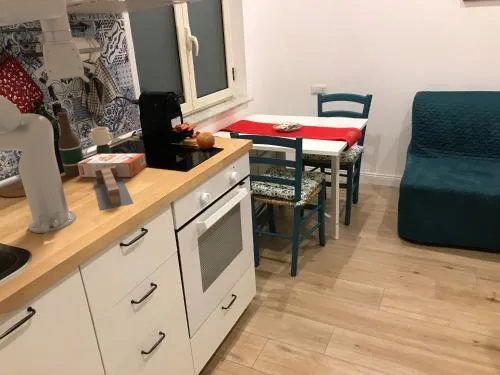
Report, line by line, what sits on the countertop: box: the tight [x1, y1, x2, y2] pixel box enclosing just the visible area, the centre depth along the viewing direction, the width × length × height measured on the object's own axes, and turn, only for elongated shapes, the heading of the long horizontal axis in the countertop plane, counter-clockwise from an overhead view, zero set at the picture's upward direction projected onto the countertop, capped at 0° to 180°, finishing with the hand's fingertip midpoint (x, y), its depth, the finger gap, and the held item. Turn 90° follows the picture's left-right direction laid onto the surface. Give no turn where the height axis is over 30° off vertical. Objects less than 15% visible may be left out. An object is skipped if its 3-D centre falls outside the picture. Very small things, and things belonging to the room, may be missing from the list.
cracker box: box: [78, 153, 147, 178], centre depth 157 cm, size 14×6×21 cm
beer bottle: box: [56, 111, 85, 177], centre depth 156 cm, size 8×8×24 cm
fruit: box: [195, 131, 216, 150], centre depth 182 cm, size 8×8×8 cm
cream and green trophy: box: [87, 126, 114, 154], centre depth 175 cm, size 11×7×13 cm, turn 81°
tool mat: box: [92, 177, 135, 212], centre depth 139 cm, size 30×10×1 cm, turn 24°
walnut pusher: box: [95, 166, 122, 206], centre depth 137 cm, size 25×7×5 cm, turn 24°
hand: (71, 97), depth 127 cm, fingers open, 9 cm apart
